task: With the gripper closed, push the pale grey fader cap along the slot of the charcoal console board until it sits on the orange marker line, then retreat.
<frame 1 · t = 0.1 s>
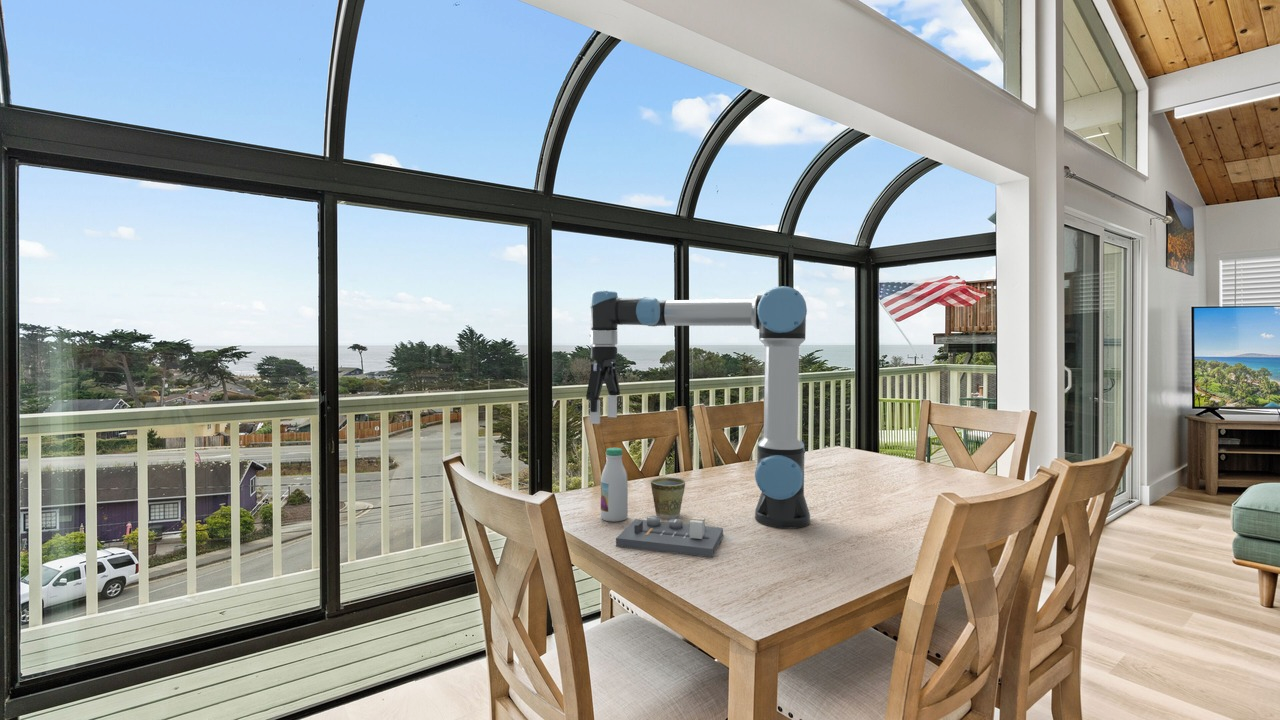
hand: (603, 420, 166), 28 cm above the table, fingers open, 13 cm apart
console: (670, 540, 148), on the table
milk bottle: (614, 518, 166), on the table
fader cap: (697, 527, 145), point 4 cm above the table, slide at 0.0 cm
ceramic cup: (669, 514, 171), on the table
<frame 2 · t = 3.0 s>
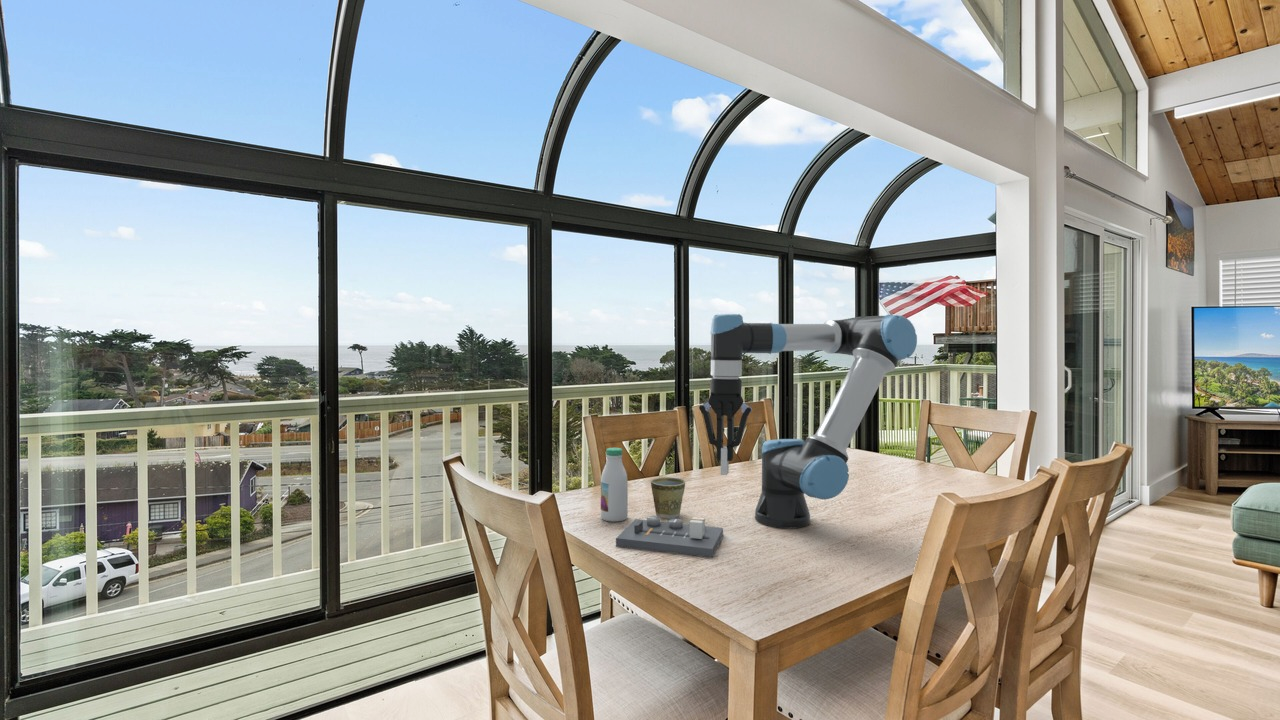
hand: (724, 473, 143), 18 cm above the table, fingers closed
nothing on the table moved.
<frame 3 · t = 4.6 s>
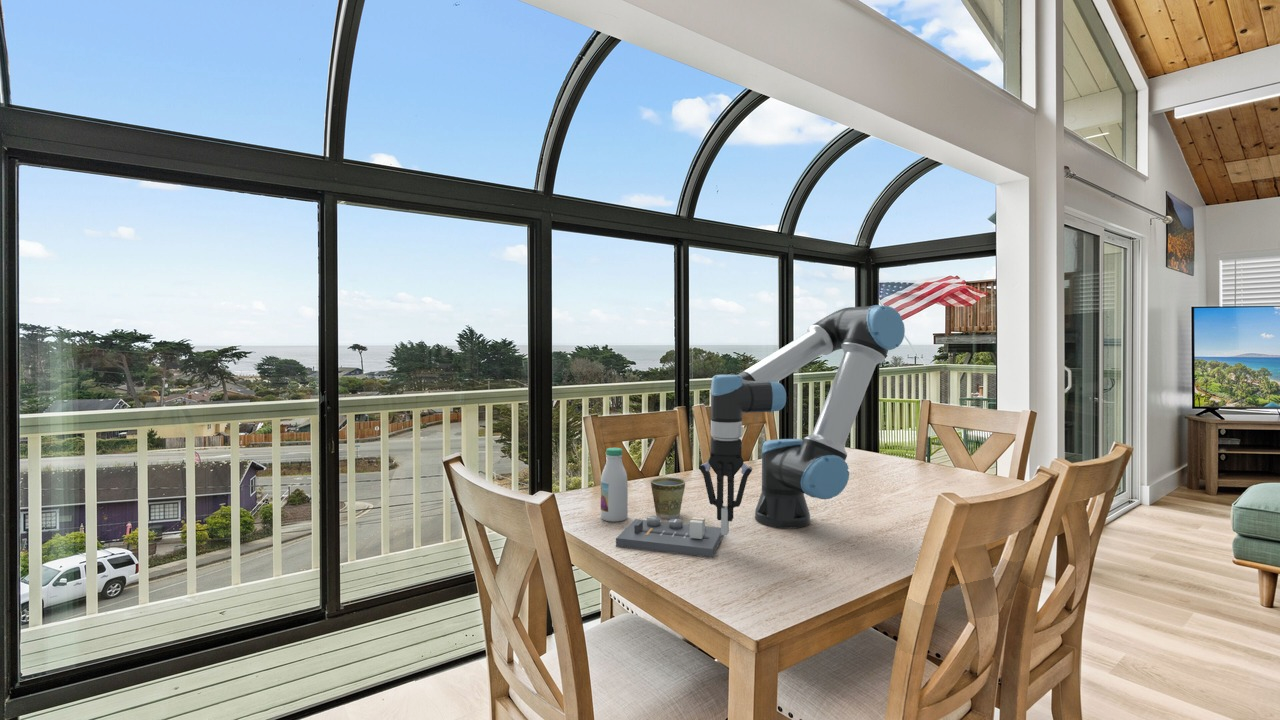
hand: (724, 533, 143), 4 cm above the table, fingers closed
nothing on the table moved.
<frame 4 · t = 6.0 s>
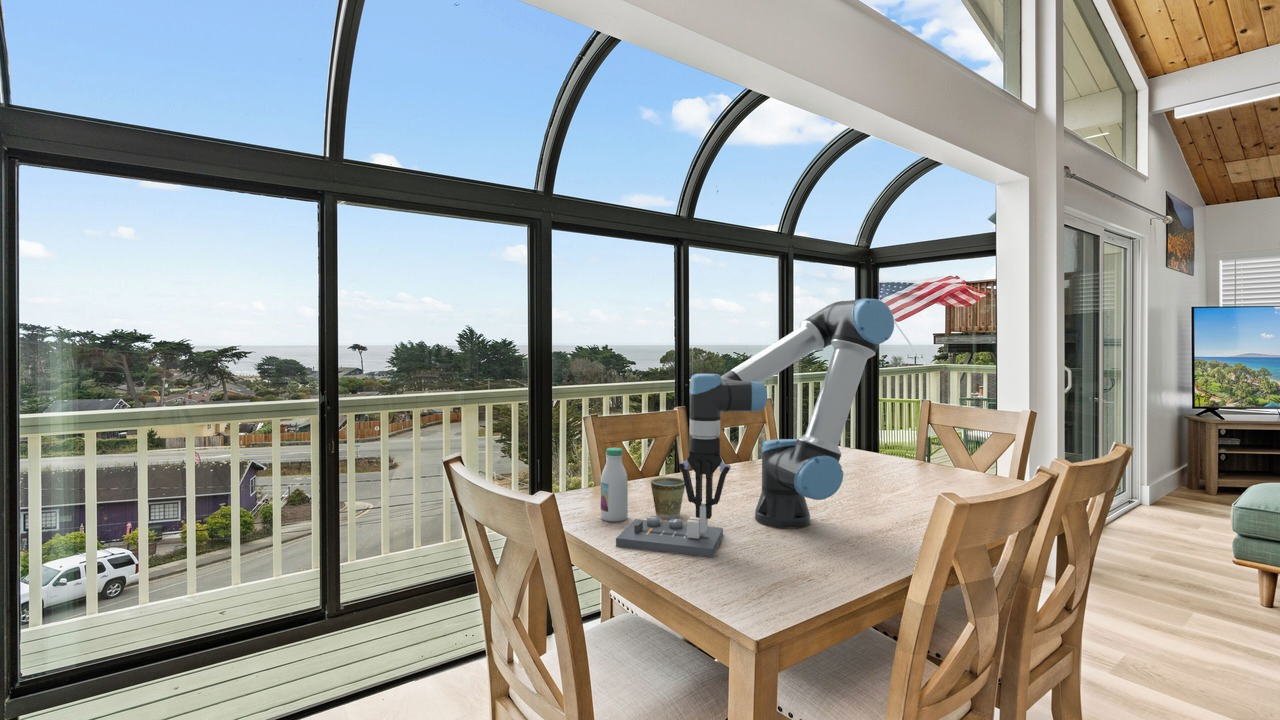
hand: (703, 530, 144), 4 cm above the table, fingers closed
fader cap: (694, 527, 145), point 4 cm above the table, slide at 0.7 cm, touching gripper
everything else where it was.
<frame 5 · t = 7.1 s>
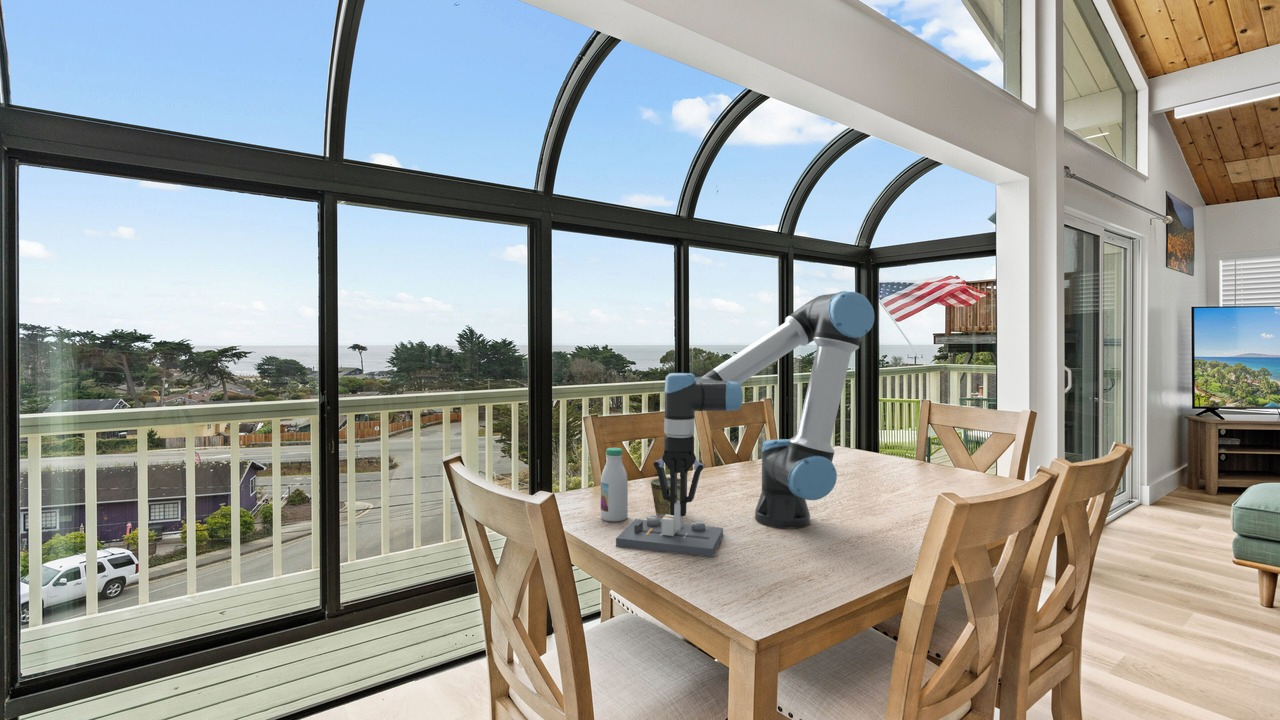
hand: (678, 528, 146), 4 cm above the table, fingers closed
fader cap: (669, 524, 147), point 4 cm above the table, slide at 7.1 cm, touching gripper
everything else where it was.
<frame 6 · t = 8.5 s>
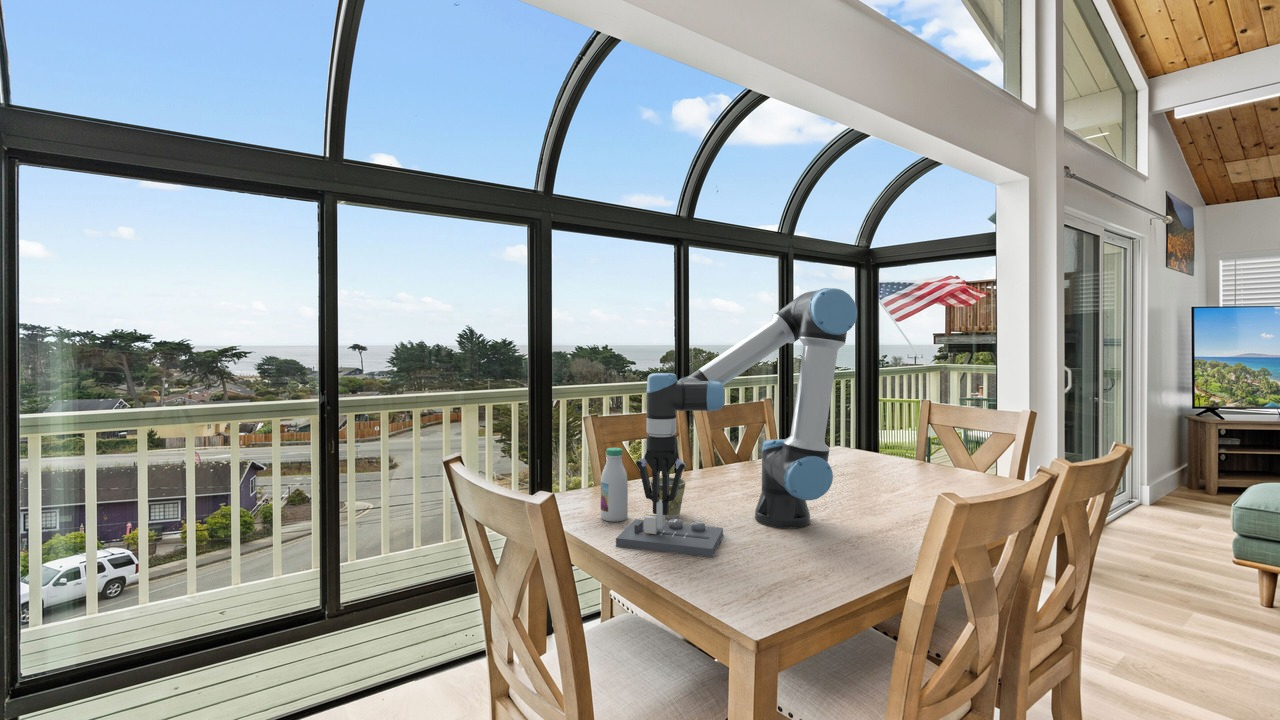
hand: (660, 526, 148), 4 cm above the table, fingers closed
fader cap: (652, 522, 148), point 4 cm above the table, slide at 11.7 cm, touching gripper
everything else where it was.
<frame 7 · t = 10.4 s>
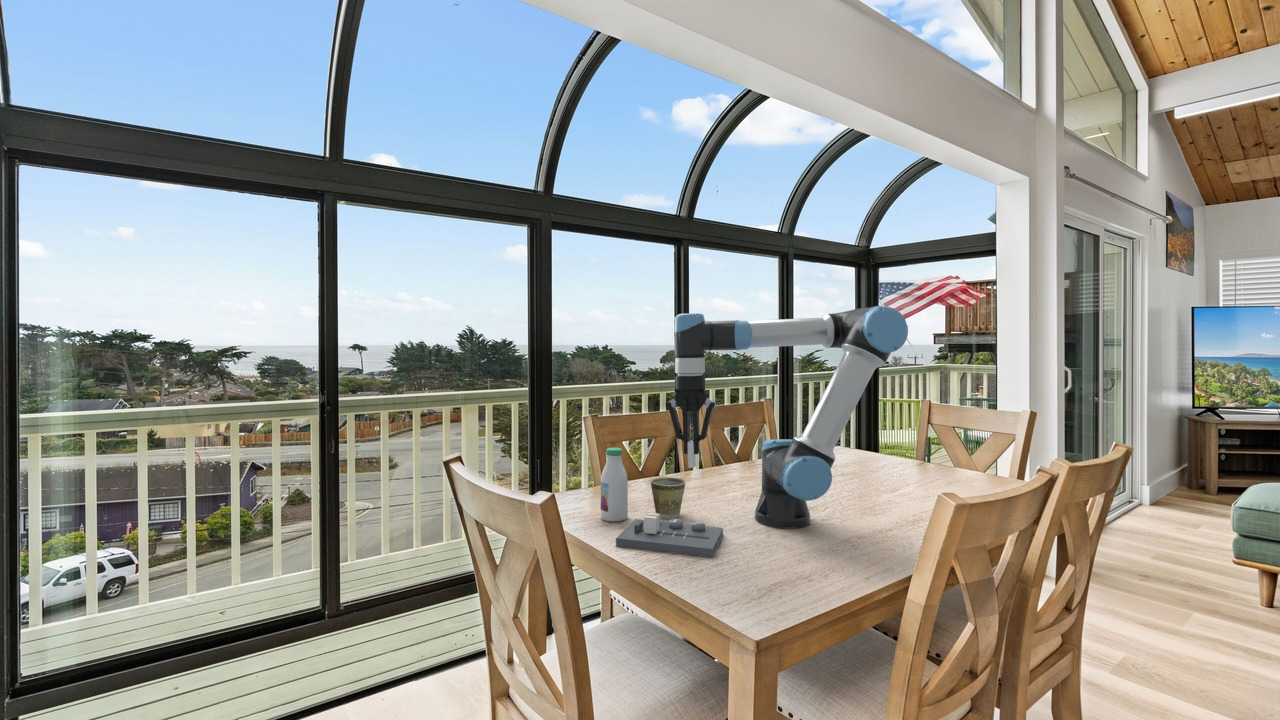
hand: (691, 466, 149), 19 cm above the table, fingers closed
fader cap: (652, 522, 148), point 4 cm above the table, slide at 11.7 cm
everything else where it was.
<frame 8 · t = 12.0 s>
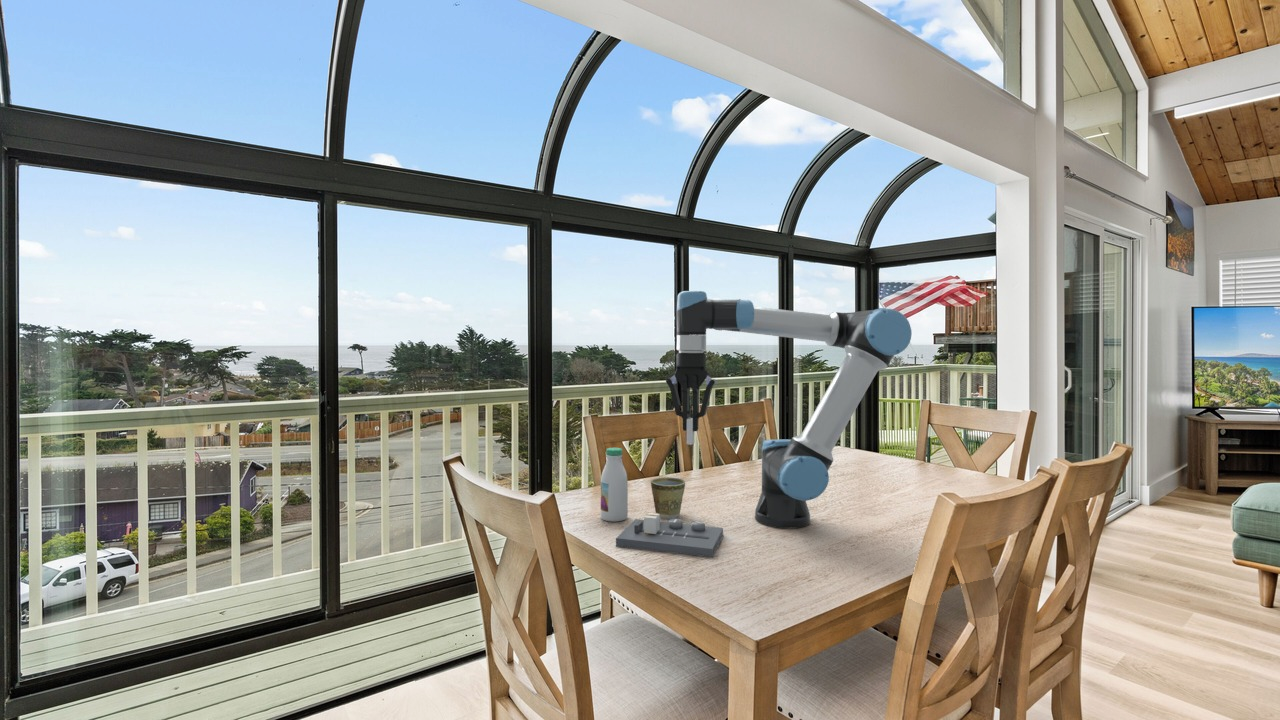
hand: (690, 443, 150), 24 cm above the table, fingers closed
nothing on the table moved.
at the end: fader cap slide at 11.7 cm; the gripper is holding nothing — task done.
